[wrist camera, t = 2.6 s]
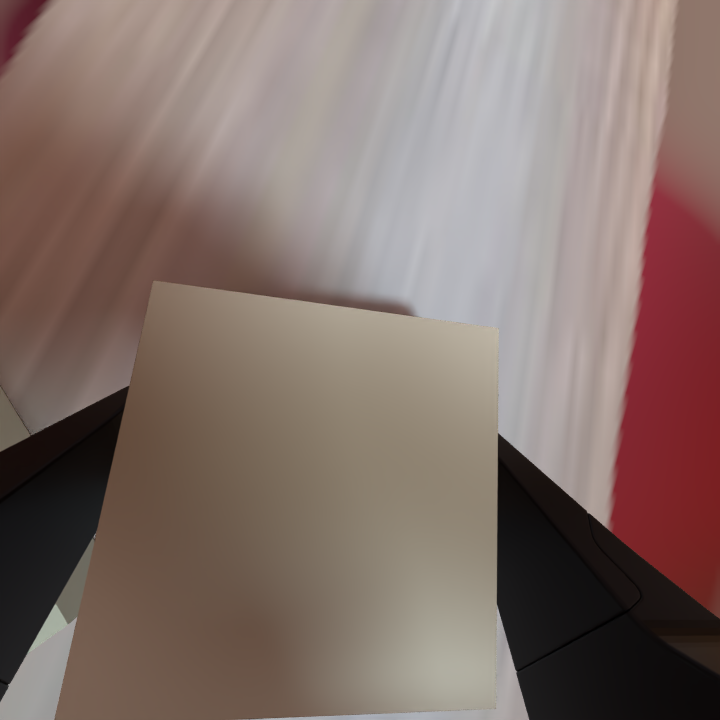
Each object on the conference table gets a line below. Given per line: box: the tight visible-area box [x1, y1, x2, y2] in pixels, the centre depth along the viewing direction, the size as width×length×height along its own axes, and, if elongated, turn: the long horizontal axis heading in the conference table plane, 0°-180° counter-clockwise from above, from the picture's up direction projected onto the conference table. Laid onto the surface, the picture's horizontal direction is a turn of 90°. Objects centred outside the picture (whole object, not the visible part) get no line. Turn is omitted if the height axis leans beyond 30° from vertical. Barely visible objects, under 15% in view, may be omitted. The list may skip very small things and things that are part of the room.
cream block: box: [54, 280, 499, 720], centre depth 10 cm, size 4×4×13 cm
